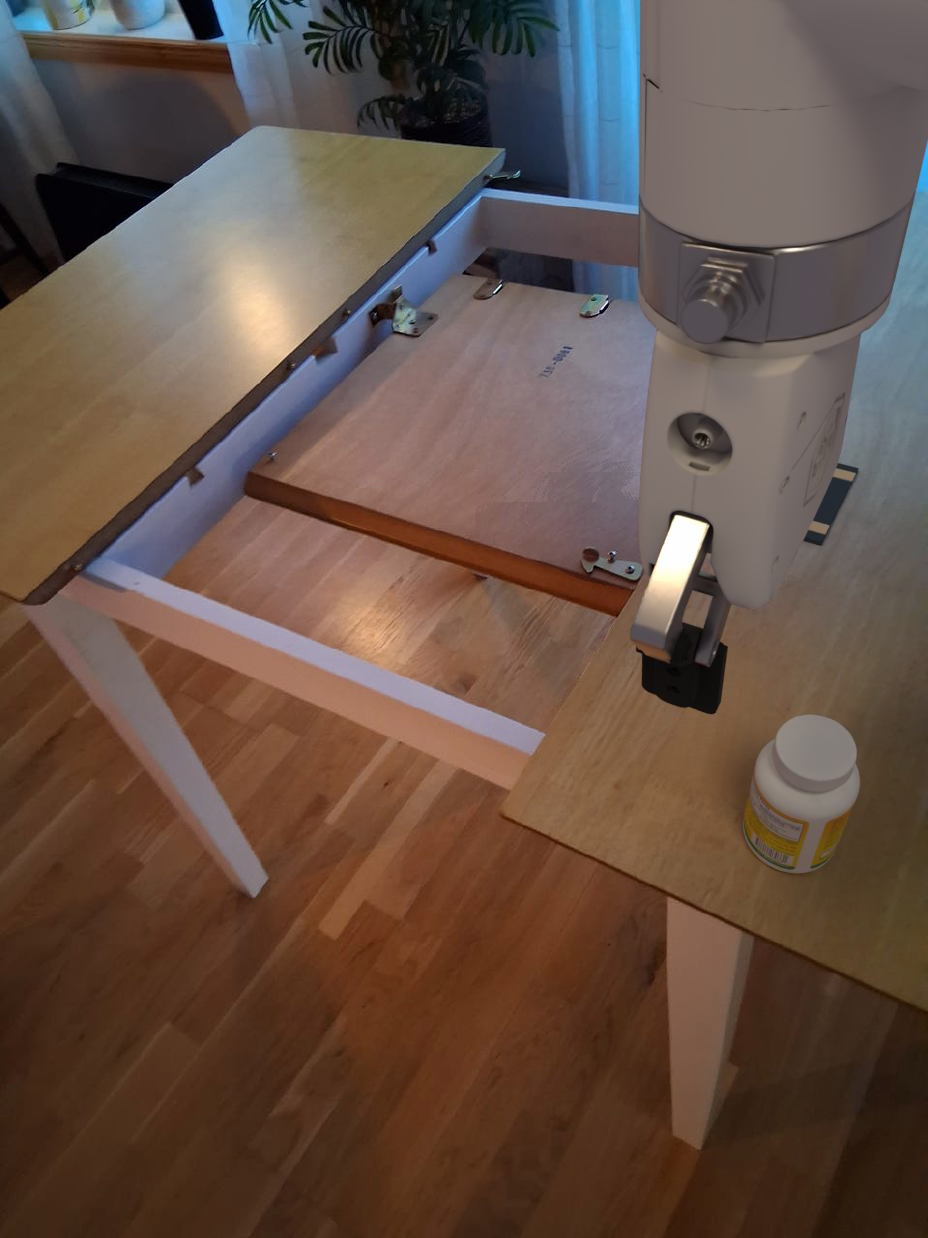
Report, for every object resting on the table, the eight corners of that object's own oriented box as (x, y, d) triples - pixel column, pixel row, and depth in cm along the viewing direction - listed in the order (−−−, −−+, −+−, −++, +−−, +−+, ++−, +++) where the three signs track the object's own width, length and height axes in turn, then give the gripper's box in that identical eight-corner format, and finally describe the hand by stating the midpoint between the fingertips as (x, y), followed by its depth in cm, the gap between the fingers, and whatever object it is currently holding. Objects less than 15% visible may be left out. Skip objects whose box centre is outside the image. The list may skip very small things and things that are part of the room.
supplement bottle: (751, 878, 53) (771, 795, 46) (734, 796, 56) (750, 706, 49) (848, 874, 52) (884, 789, 45) (825, 791, 56) (855, 699, 49)
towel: (857, 471, 73) (859, 466, 73) (820, 545, 69) (821, 540, 68) (783, 452, 76) (783, 448, 75) (742, 523, 71) (743, 518, 71)
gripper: (802, 449, 22) (737, 807, 34) (966, 130, 30) (866, 511, 43) (519, 384, 25) (557, 735, 38) (742, 113, 33) (711, 472, 46)
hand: (722, 615), depth 40 cm, fingers open, 9 cm apart
